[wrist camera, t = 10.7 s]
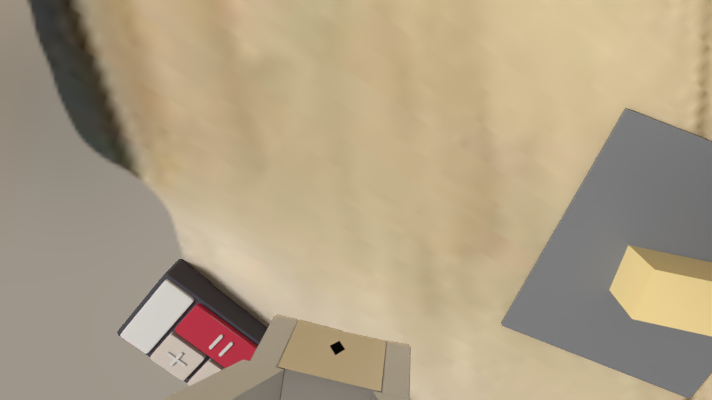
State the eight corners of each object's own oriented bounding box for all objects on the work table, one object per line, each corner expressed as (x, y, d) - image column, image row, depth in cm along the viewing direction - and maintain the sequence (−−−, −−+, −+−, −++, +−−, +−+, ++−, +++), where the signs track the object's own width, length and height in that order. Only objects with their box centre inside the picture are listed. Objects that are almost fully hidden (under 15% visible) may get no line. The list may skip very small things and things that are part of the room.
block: (654, 269, 38) (803, 300, 37) (628, 244, 42) (759, 272, 41) (632, 319, 39) (773, 350, 38) (609, 290, 44) (734, 317, 43)
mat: (625, 108, 39) (627, 109, 38) (851, 195, 39) (856, 197, 38) (501, 322, 47) (502, 325, 47) (686, 395, 47) (689, 398, 47)
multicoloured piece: (219, 413, 52) (111, 338, 50) (232, 385, 56) (132, 315, 54) (275, 360, 49) (161, 276, 46) (284, 334, 53) (180, 256, 50)
